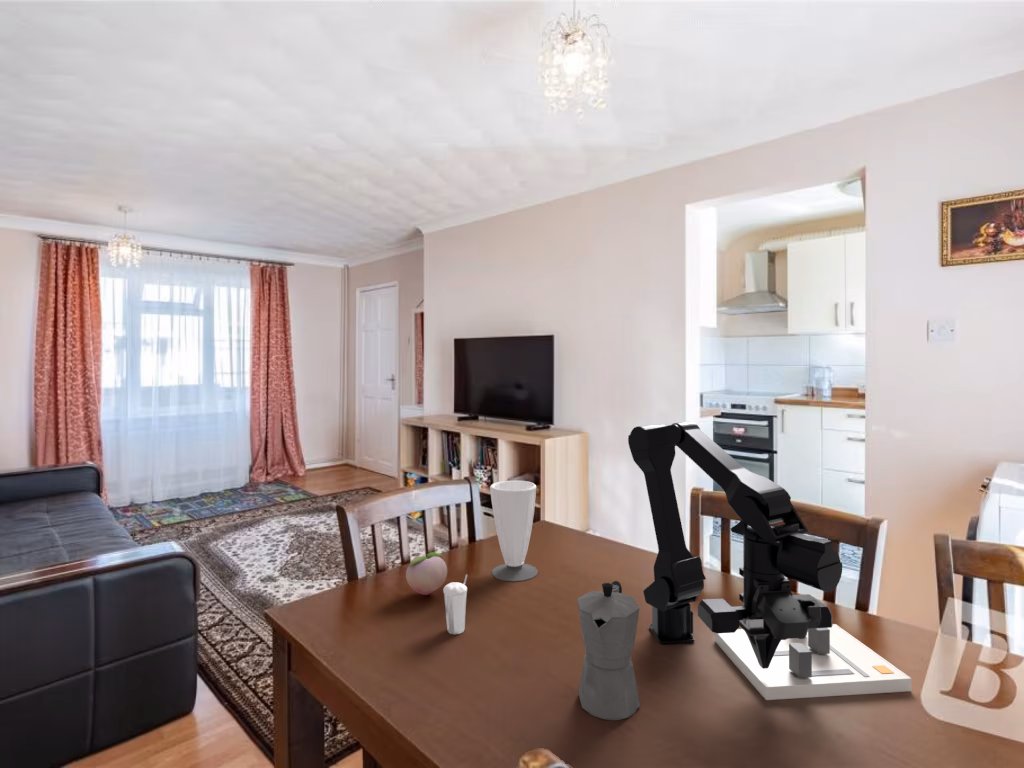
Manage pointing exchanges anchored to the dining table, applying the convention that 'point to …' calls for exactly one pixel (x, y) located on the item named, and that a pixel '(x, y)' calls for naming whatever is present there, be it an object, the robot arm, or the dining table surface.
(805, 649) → the block
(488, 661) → the dining table surface
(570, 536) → the dining table surface
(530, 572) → the cup
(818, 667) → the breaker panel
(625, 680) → the coffeepot
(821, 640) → the handle
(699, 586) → the robot arm
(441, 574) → the decorative fruit
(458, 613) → the milkshake
